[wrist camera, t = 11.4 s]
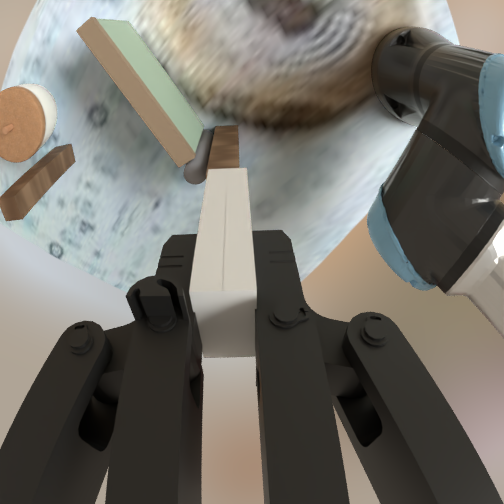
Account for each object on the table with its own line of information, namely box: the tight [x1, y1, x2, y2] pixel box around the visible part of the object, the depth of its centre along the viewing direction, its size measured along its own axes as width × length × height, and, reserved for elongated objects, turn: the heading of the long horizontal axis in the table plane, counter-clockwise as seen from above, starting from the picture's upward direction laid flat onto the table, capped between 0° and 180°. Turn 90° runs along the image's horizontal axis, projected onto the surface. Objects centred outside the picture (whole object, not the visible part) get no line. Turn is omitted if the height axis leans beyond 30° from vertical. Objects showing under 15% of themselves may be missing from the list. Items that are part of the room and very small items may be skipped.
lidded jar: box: [0, 84, 57, 162], centre depth 31 cm, size 11×11×9 cm
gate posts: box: [0, 125, 239, 221], centre depth 34 cm, size 28×3×16 cm, turn 90°
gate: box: [76, 17, 214, 184], centre depth 30 cm, size 21×2×12 cm, turn 30°
